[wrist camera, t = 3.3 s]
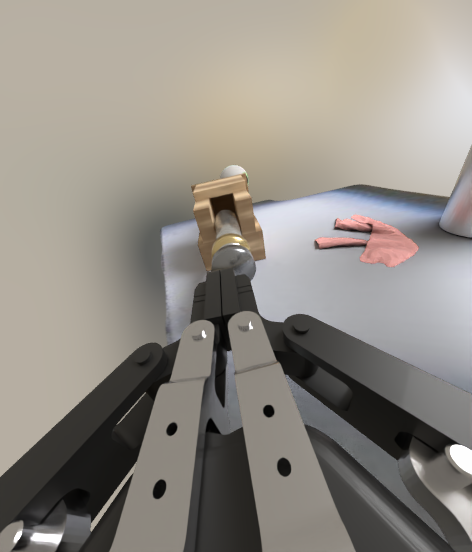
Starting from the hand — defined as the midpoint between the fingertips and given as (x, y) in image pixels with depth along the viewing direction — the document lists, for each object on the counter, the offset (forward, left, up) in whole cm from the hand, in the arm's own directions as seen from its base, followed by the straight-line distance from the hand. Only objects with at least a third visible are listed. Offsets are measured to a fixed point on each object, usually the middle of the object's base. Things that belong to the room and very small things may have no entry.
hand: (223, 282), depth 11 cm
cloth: (-36, -1, -15) cm, 39 cm away
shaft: (-14, -13, -9) cm, 21 cm away
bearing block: (-23, -22, -14) cm, 35 cm away
